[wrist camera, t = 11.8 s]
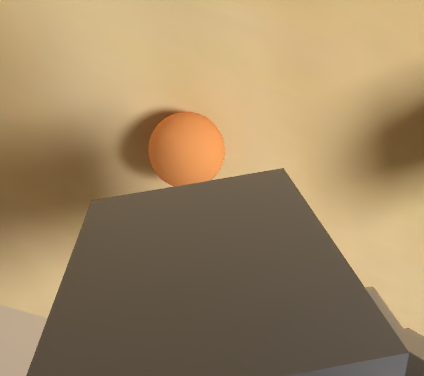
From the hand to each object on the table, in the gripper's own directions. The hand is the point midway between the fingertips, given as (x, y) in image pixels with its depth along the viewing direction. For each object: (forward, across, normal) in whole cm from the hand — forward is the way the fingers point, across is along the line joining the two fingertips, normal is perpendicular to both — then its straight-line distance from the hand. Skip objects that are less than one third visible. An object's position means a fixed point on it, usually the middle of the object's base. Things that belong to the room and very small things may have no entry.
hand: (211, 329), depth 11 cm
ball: (+15, 0, 0) cm, 15 cm away
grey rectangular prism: (+4, 0, 0) cm, 4 cm away
